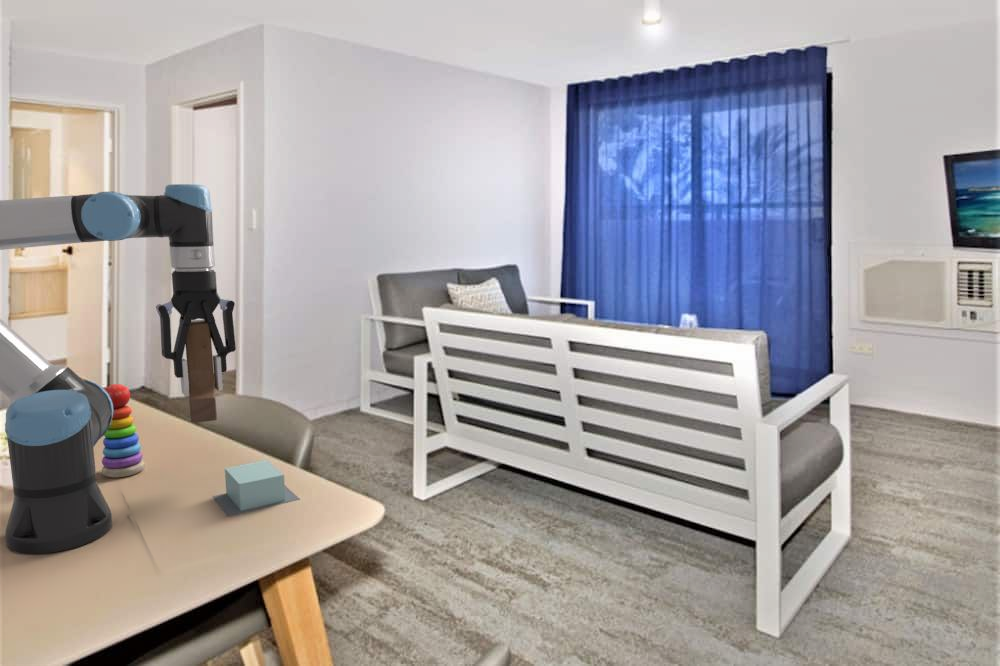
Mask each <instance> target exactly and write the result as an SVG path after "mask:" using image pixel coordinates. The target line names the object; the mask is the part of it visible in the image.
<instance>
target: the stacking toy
mask: <svg viewBox="0 0 1000 666" xmlns="http://www.w3.org/2000/svg"><path fill="white" fill-rule="evenodd" d="M104 389H105V390H106V392H107V393H108V394H109V396H110V398H111V400H112V403H113V417H112V421H111V424H110V427H109V428H108V430H107V432H106V433H105V435H104V436H103V437H104V439H103V441H102V444H103V445H104V447H103V449H102V454H103V455H104V456H103V457H102V459H101V464H102V465H103V466H102V468H101V473H102V474H103V476H105V477H107V478H124V477H129V476H134V475H136V474H139V473H141V472H142V471H143V470H144V468H145V465H146V463H145V461H144V460H143V453H142V452H141V450H142V449H141V448H142V447H141V443H139V439H140V437H139V435H138V434H137V433H136V431H137V427H136V425H134V424H133V423H134V420H135V419H134V418H133V416H131V414H132V411H133V409H132V407H130V406H129V405H127V404H128V403H129V402H130V399H131V393H130V390H129V389H128V387H127V386H126V385H123V384H120V383H119V384H118V383H113V384H109V386H107V387H106V388H104Z"/></svg>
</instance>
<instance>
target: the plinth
mask: <svg viewBox="0 0 1000 666" xmlns="http://www.w3.org/2000/svg"><path fill="white" fill-rule="evenodd" d="M224 477H225V479H224V480H225V492H226V494H227V495H228V496H229V497H230V498H231V499H232V501H233V502H234V503H235V504H236V505H237V506H238V508H239V509H240V510H241V511H242V510H246V509H251V508H255V507H260V506H264V505H268V504H273V503H277V502H281V501H285V486H286V485H285V474H284V473H282V472H281V471H280V470H279V469H278V468H277V467H275V465H274V464H272V463H271V462H270V461H269V460H268V459H265V460H260V461H256V462H251V463H245V464H241V465H234V466H230V467H229V466H228V467H224Z"/></svg>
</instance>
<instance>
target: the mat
mask: <svg viewBox="0 0 1000 666" xmlns="http://www.w3.org/2000/svg"><path fill="white" fill-rule="evenodd" d="M212 498H213V499H214V500H215V502H216V503H217V504H218V505H219V507H220V508H221V509H222V510H223V512H224V513H225V515H227V517H231V516H234V515H235V516H236V515H239V514H243V513H247V512H251V511H252V512H253V511H256V510H260V509H261V510H262V509H265V508H269V507H274V506H280V505H283V504H287V503H291V502H297V501H301V499H300V498H299V496H297V494H295V493H294V492H293V491H292V490H291V489H290V488H289V487H288V486H286V485H285V501H281V502H277V503H273V504H268V505H264V506H260V507H255V508H251V509H246V510H242V511H241V510H240V509H239V508H238V506H237V505H236V504H235V503H234V502H233V501H232V499H231V498H230V497H229V496H228V495H227V494H226V493H221V494H218V495H217V494H216V495H212Z"/></svg>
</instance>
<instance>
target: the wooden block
mask: <svg viewBox="0 0 1000 666" xmlns="http://www.w3.org/2000/svg"><path fill="white" fill-rule="evenodd" d="M212 345H213V343H212V339H211V331H210V328H209V325H208V323H207V322H205V321H204V319H196V320H191V324H190V326H189V330H188V335H187V339H186V344H185V352H186V353H185V355H186V361H187V370H188V383H189V395H188V396H189V397H188V399H189V400H188V401H189V402H188V403H189V412H190V422H191V423H193V424H195V423H204V422H205V423H206V422H213V421H216V420H217V419H218V413H217V411H218V410H217V401H216V400H217V399H216V389H215V381H214V367H213V346H212Z"/></svg>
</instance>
